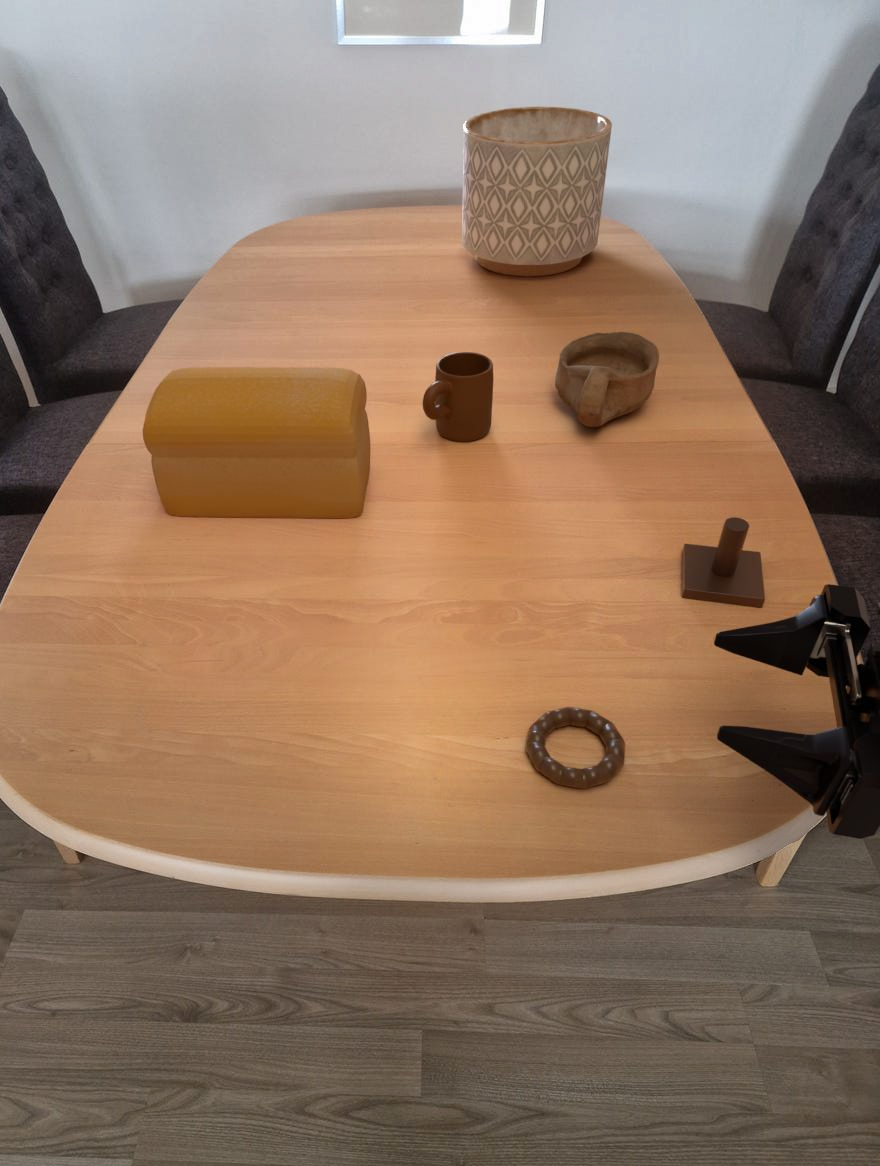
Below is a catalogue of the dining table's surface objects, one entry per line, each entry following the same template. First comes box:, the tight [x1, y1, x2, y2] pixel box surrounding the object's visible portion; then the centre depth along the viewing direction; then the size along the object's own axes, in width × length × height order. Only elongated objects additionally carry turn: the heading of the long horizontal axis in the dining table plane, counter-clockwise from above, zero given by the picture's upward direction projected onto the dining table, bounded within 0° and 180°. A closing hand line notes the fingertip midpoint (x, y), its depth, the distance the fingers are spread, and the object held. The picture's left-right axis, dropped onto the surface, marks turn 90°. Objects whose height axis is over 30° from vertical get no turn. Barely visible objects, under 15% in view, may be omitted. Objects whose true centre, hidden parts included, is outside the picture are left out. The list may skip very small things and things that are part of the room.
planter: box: [461, 106, 613, 277], centre depth 152 cm, size 26×26×22 cm
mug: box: [422, 351, 494, 443], centre depth 110 cm, size 12×8×9 cm, turn 140°
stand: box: [681, 516, 766, 609], centre depth 87 cm, size 8×8×7 cm
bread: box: [142, 366, 371, 519], centre depth 100 cm, size 24×13×15 cm, turn 86°
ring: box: [525, 706, 626, 789], centre depth 73 cm, size 8×8×2 cm
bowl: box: [554, 331, 660, 428], centre depth 113 cm, size 18×14×10 cm
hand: (716, 683), depth 59 cm, fingers open, 9 cm apart
